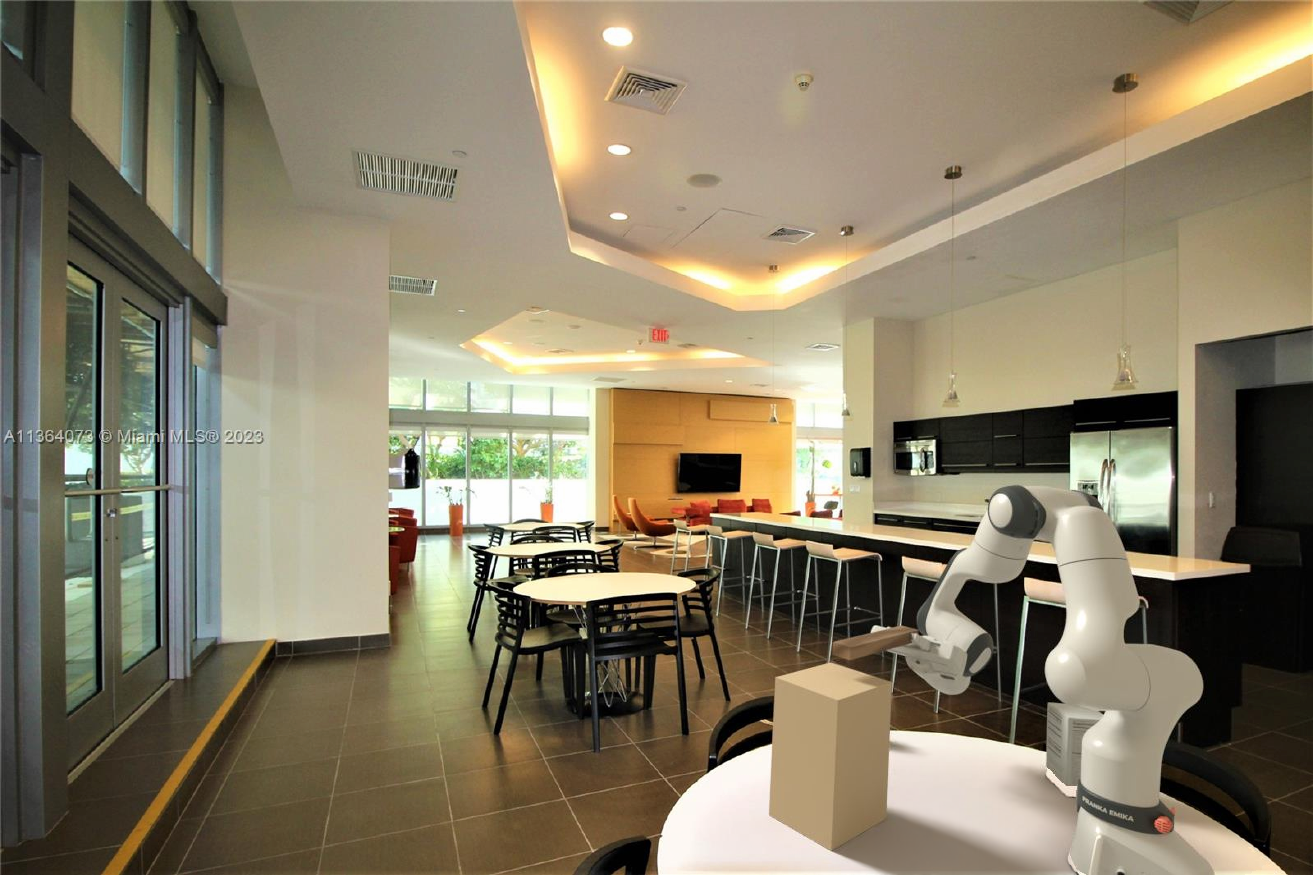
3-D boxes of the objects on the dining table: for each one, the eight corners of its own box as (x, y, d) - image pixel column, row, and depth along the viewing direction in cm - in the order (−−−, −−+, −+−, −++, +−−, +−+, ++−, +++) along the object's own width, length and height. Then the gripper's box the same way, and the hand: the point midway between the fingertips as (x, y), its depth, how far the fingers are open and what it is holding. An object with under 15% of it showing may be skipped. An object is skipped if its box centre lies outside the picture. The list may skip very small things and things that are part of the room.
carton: (886, 818, 126) (892, 682, 127) (831, 851, 114) (837, 700, 115) (825, 788, 137) (831, 662, 138) (768, 814, 125) (775, 677, 126)
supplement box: (1088, 780, 147) (1091, 704, 147) (1113, 802, 138) (1115, 720, 138) (1043, 776, 148) (1046, 700, 148) (1065, 797, 139) (1067, 716, 139)
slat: (917, 641, 143) (918, 629, 143) (849, 660, 126) (850, 647, 127) (900, 636, 146) (901, 625, 146) (832, 654, 130) (832, 642, 130)
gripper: (889, 633, 159) (863, 609, 151) (975, 655, 143) (950, 630, 136) (881, 657, 157) (854, 635, 149) (967, 683, 141) (942, 659, 134)
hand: (900, 633), depth 142 cm, fingers closed on slat, 4 cm apart
